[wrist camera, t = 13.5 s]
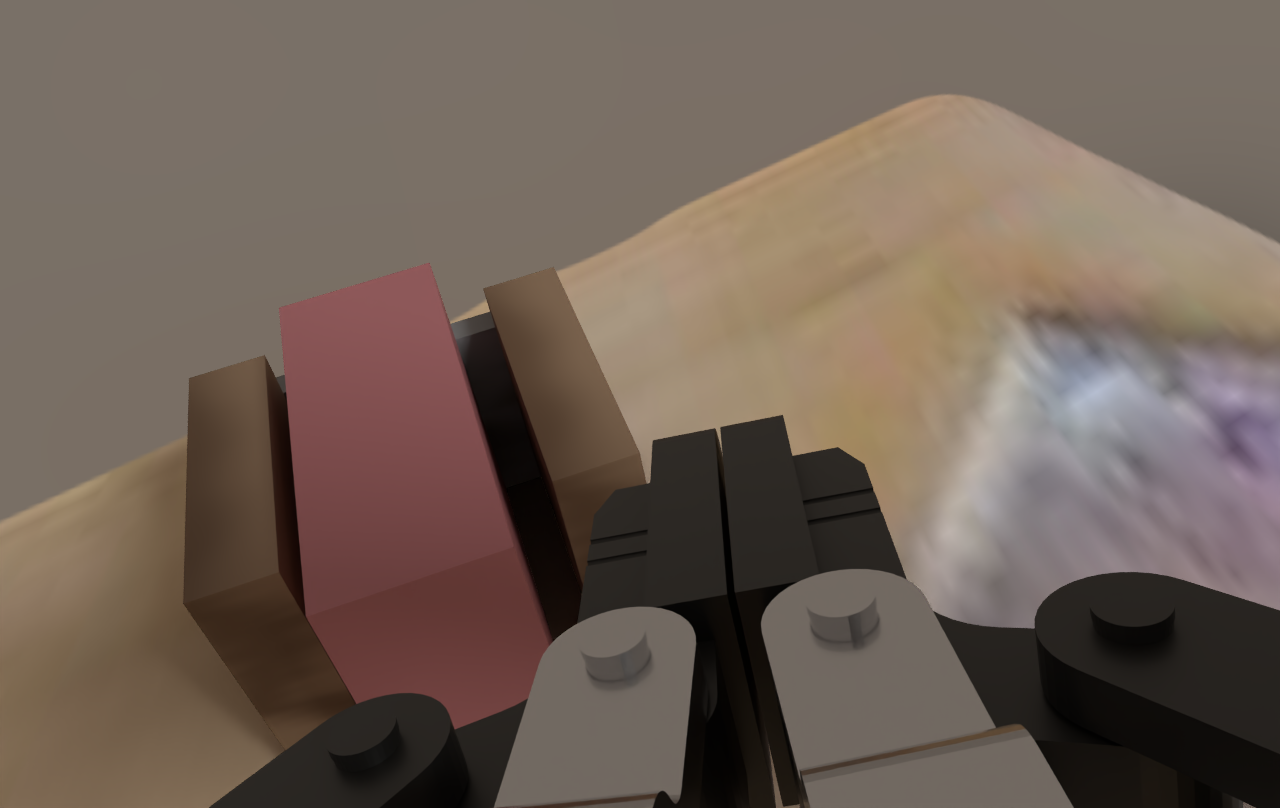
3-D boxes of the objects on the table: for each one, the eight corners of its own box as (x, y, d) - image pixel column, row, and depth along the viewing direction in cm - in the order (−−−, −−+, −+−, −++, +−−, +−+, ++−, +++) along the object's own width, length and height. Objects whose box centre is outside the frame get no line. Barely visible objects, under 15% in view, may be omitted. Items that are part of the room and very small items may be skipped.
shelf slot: (594, 440, 53) (546, 252, 45) (682, 650, 43) (639, 452, 36) (289, 540, 51) (189, 360, 43) (308, 783, 41) (183, 603, 34)
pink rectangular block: (506, 489, 51) (429, 262, 43) (596, 781, 39) (513, 546, 31) (382, 530, 50) (279, 307, 42) (435, 840, 39) (306, 617, 30)
